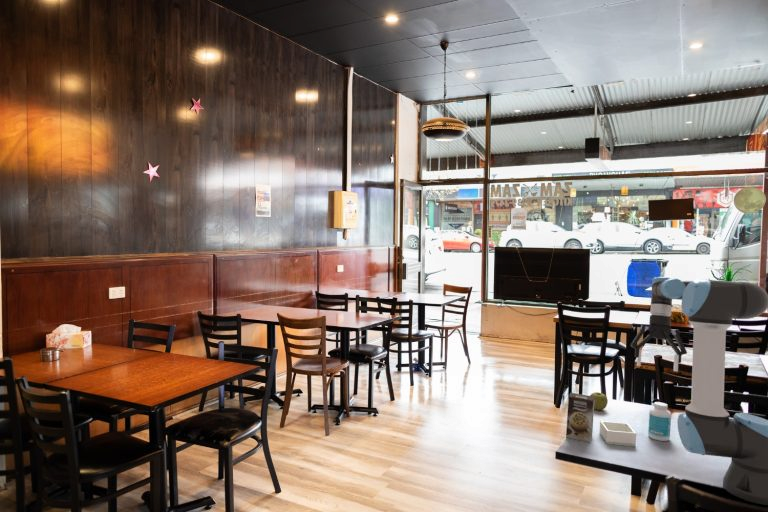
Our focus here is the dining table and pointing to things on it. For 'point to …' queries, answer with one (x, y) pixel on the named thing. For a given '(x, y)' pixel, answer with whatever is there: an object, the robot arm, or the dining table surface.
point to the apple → (599, 401)
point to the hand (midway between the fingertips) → (656, 368)
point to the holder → (617, 433)
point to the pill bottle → (659, 422)
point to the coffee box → (580, 417)
